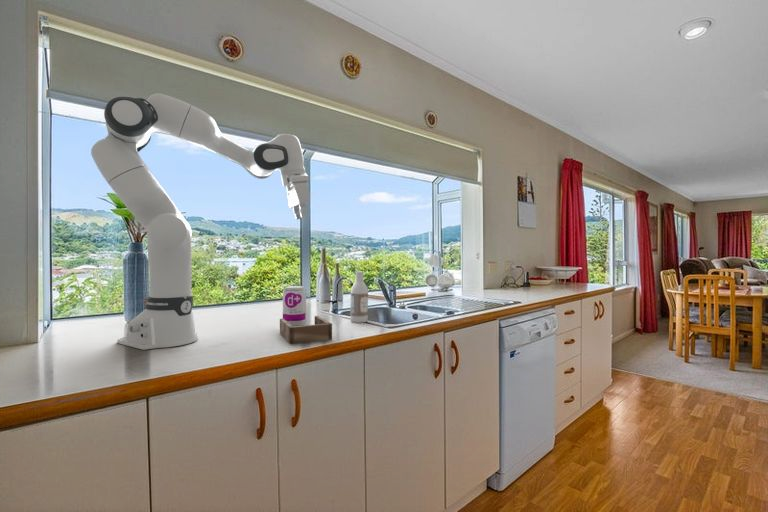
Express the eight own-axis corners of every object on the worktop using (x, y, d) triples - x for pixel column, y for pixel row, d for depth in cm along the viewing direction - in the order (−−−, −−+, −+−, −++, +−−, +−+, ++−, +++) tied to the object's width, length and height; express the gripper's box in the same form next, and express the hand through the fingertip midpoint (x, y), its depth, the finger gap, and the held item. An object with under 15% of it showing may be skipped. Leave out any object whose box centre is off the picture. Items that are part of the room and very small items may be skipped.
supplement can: (302, 330, 130) (303, 288, 130) (279, 329, 131) (279, 287, 130) (307, 325, 139) (308, 285, 138) (286, 324, 139) (286, 285, 138)
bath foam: (357, 323, 142) (358, 272, 142) (346, 321, 147) (347, 271, 147) (371, 321, 147) (371, 271, 147) (359, 318, 152) (360, 270, 152)
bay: (279, 333, 125) (279, 318, 125) (317, 329, 131) (317, 315, 131) (290, 344, 112) (290, 327, 112) (331, 339, 118) (332, 324, 118)
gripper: (281, 185, 141) (287, 221, 142) (291, 176, 122) (298, 217, 124) (297, 183, 143) (303, 219, 145) (309, 175, 125) (316, 215, 126)
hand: (301, 218), depth 134 cm, fingers open, 8 cm apart
